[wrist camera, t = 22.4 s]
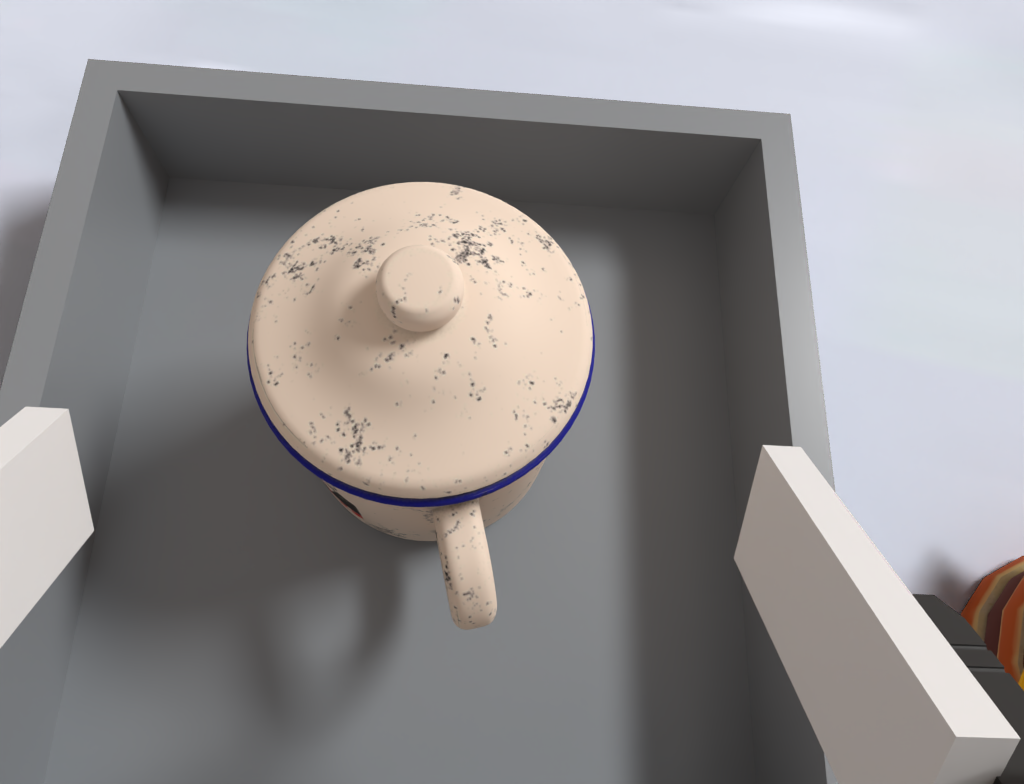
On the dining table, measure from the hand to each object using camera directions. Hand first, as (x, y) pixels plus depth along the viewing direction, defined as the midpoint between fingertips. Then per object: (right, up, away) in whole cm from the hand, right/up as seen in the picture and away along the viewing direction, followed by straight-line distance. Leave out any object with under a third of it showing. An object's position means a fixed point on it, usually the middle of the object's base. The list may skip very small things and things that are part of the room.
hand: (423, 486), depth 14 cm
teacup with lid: (-1, -1, +13) cm, 13 cm away
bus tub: (-1, -1, +14) cm, 14 cm away
